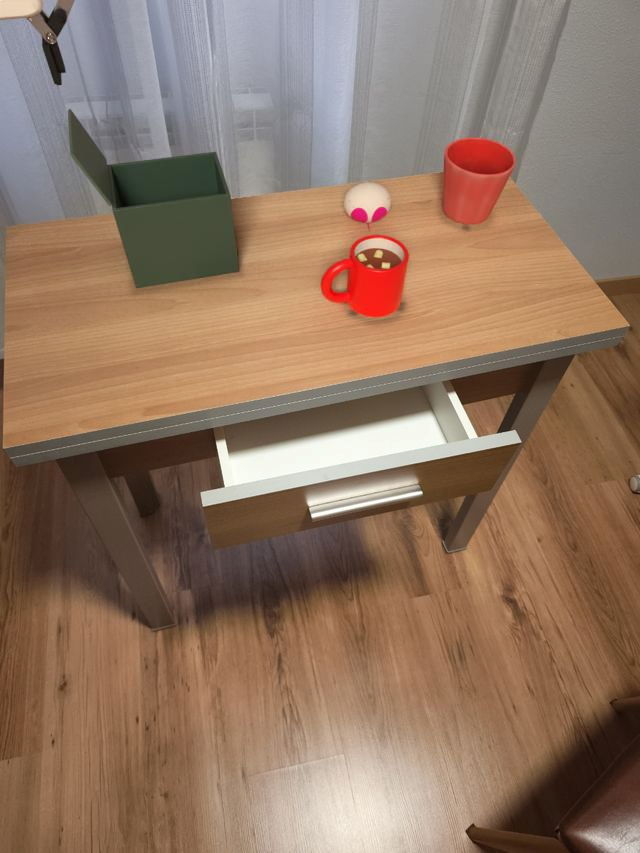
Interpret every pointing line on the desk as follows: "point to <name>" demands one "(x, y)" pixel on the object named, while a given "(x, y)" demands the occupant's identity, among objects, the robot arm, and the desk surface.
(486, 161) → the flower pot
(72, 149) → the green flat rectangular panel
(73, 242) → the desk surface
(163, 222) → the green hollow box
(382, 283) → the mug
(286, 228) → the desk surface
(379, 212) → the toy mouse
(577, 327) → the desk surface
